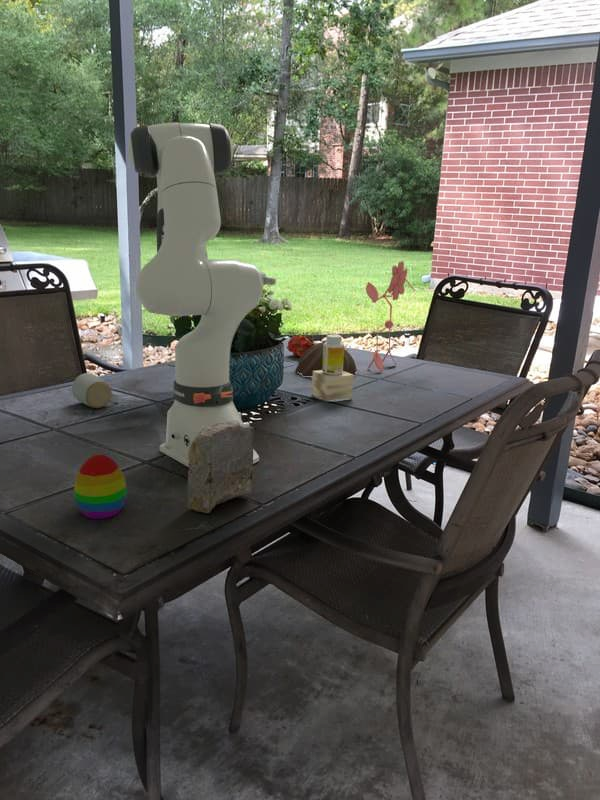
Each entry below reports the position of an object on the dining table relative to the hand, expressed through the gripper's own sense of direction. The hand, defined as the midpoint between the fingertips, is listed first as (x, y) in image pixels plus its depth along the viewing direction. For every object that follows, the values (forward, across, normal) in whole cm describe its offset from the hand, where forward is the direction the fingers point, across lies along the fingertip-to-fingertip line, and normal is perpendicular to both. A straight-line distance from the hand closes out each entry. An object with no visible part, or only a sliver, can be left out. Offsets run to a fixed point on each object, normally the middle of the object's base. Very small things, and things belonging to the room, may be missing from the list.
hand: (268, 283), depth 178 cm
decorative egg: (+6, -82, +30) cm, 88 cm away
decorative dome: (+8, +29, +30) cm, 43 cm away
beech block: (+19, +2, +30) cm, 35 cm away
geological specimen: (+22, -72, +30) cm, 81 cm away
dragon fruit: (-6, +48, +30) cm, 57 cm away
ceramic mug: (-33, -31, +30) cm, 55 cm away
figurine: (+27, +43, +30) cm, 59 cm away
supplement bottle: (+19, +1, +23) cm, 30 cm away
